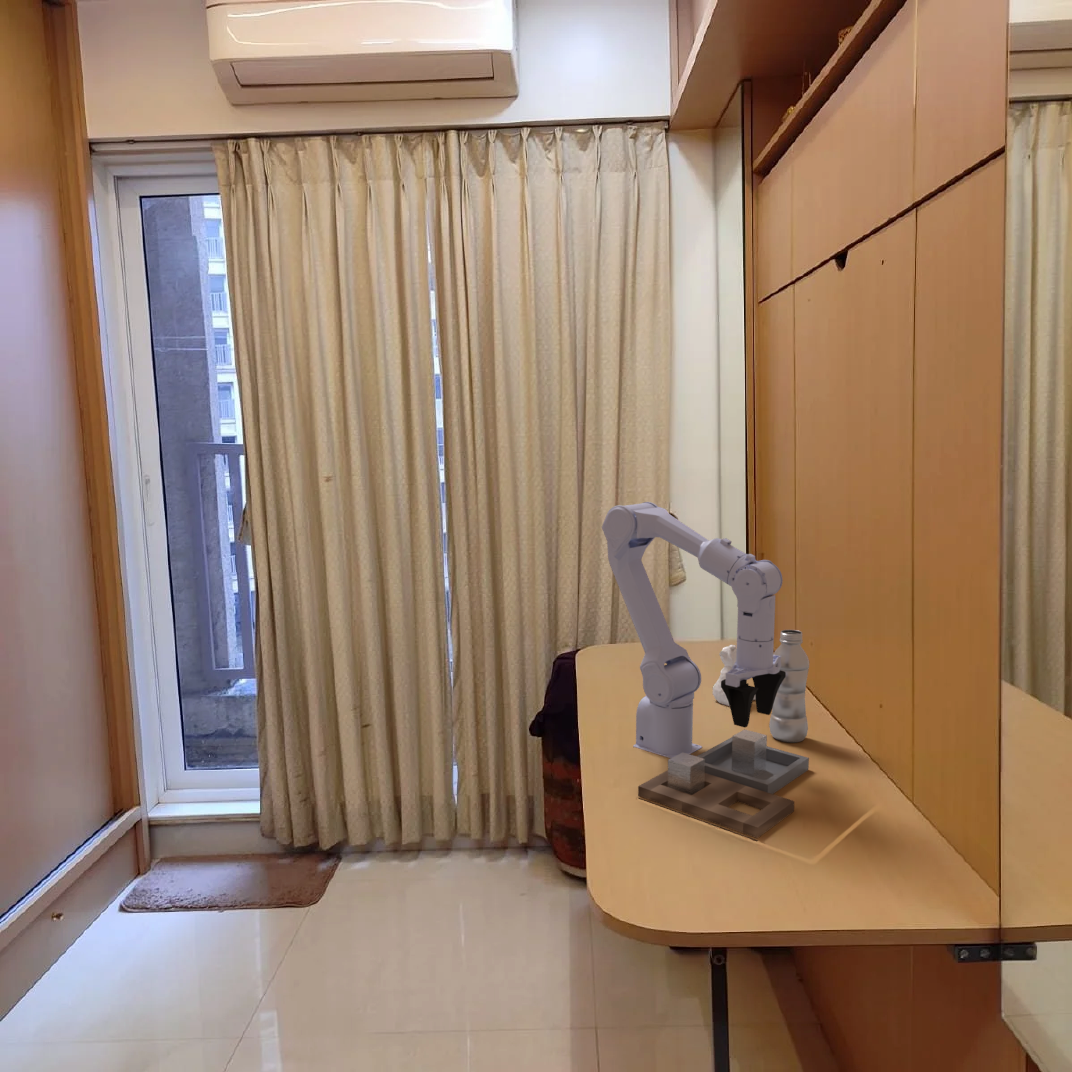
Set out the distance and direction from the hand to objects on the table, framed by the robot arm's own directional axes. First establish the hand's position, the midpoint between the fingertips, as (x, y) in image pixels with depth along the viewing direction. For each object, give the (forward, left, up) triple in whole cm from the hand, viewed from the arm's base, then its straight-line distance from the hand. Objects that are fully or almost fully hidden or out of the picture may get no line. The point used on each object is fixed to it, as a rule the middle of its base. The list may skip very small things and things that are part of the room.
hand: (752, 719), depth 137 cm
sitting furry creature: (-20, +30, -10) cm, 38 cm away
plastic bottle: (-2, +18, -10) cm, 21 cm away
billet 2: (0, 0, -9) cm, 9 cm away
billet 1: (-3, -14, -9) cm, 17 cm away
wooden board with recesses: (+2, -14, -9) cm, 17 cm away
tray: (0, 0, -9) cm, 9 cm away
